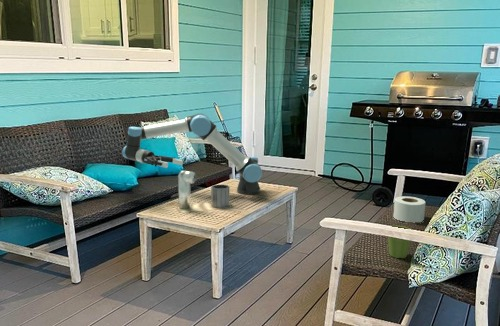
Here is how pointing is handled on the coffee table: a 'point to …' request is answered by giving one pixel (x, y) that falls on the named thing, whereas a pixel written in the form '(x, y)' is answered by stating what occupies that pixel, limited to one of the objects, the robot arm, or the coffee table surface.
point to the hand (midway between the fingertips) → (175, 164)
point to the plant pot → (398, 246)
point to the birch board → (197, 208)
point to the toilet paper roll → (409, 209)
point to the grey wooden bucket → (220, 196)
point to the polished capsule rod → (185, 188)
